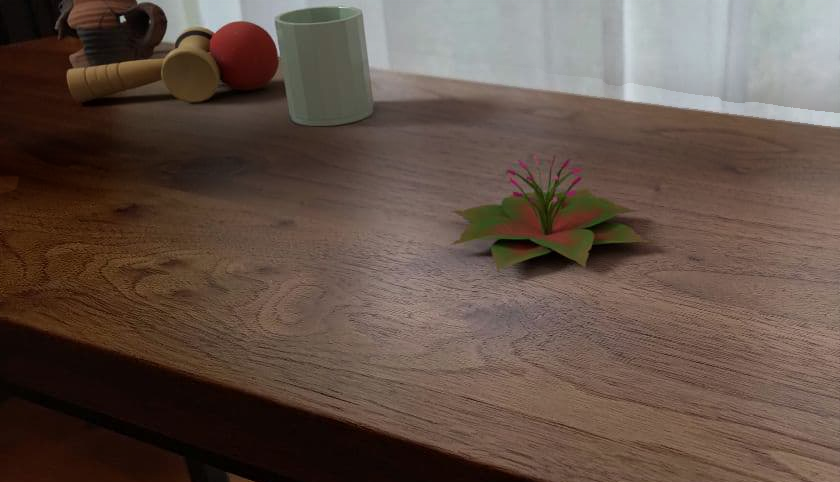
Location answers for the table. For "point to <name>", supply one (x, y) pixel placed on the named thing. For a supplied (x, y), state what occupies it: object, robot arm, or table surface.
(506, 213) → the lily flower
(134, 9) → the pottery mug
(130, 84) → the kendama
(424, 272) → the table surface
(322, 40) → the cup
